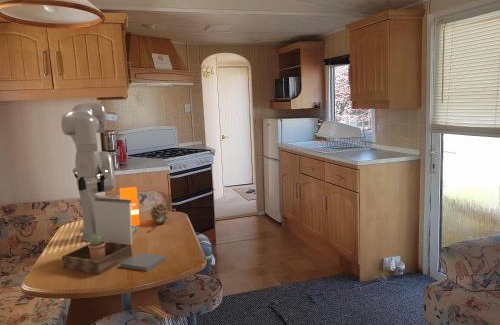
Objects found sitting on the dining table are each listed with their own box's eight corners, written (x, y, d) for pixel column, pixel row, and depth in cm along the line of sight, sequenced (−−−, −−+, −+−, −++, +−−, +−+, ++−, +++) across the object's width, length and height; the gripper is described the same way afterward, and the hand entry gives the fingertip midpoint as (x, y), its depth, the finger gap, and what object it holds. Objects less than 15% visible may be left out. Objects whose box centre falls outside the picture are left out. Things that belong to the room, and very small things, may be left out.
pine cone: (150, 219, 226) (149, 202, 225) (168, 217, 229) (167, 200, 227) (151, 231, 205) (150, 212, 204) (171, 229, 208) (169, 210, 206)
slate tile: (120, 266, 163) (120, 263, 163) (140, 255, 174) (139, 252, 174) (147, 271, 158) (147, 267, 158) (165, 259, 169) (165, 255, 169)
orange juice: (122, 223, 223) (119, 187, 220) (139, 220, 225) (136, 185, 222) (122, 227, 215) (119, 190, 212) (140, 224, 218) (136, 188, 215)
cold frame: (63, 268, 164) (61, 256, 164) (97, 251, 181) (96, 240, 181) (99, 274, 157) (98, 262, 156) (132, 256, 174) (131, 245, 173)
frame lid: (131, 244, 173) (132, 243, 174) (129, 200, 171) (130, 199, 172) (96, 239, 181) (98, 239, 182) (94, 197, 179) (96, 197, 180)
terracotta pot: (86, 264, 167) (83, 235, 165) (98, 258, 173) (95, 230, 172) (98, 266, 165) (95, 237, 163) (110, 260, 171) (107, 232, 169)
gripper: (63, 149, 162) (68, 191, 164) (97, 149, 155) (101, 193, 158) (78, 147, 169) (82, 187, 171) (111, 147, 162) (115, 189, 164)
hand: (91, 190), depth 164 cm, fingers open, 9 cm apart
